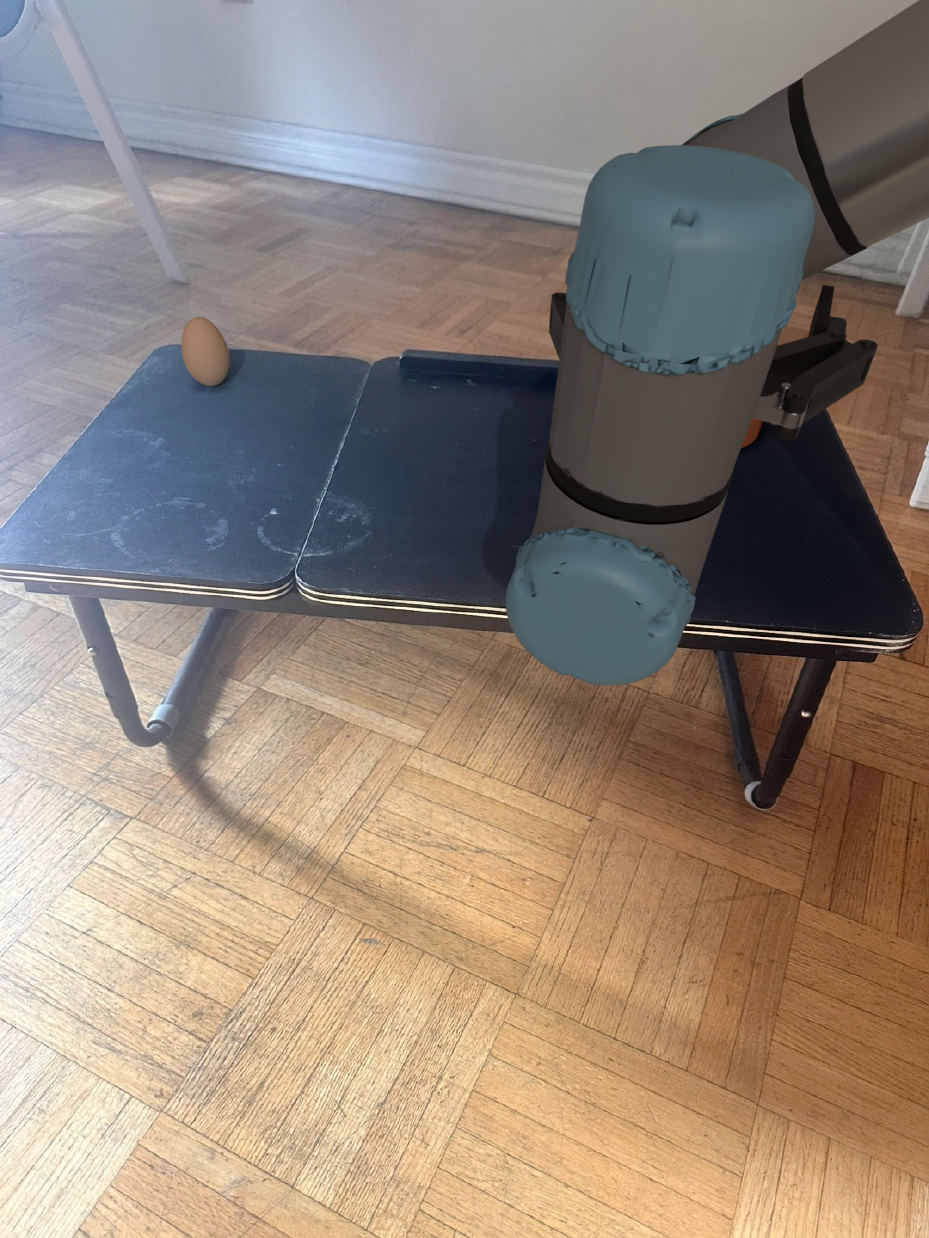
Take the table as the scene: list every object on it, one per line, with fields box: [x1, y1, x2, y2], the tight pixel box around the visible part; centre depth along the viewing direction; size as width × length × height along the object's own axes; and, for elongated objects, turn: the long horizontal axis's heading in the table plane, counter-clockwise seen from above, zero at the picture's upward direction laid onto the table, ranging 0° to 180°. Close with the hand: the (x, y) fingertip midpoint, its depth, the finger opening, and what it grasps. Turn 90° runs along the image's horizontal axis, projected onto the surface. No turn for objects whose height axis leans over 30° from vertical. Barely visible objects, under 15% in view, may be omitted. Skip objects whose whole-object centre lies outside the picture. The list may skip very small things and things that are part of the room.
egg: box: [180, 316, 231, 387], centre depth 96 cm, size 5×5×8 cm
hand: (721, 290), depth 57 cm, fingers open, 13 cm apart
